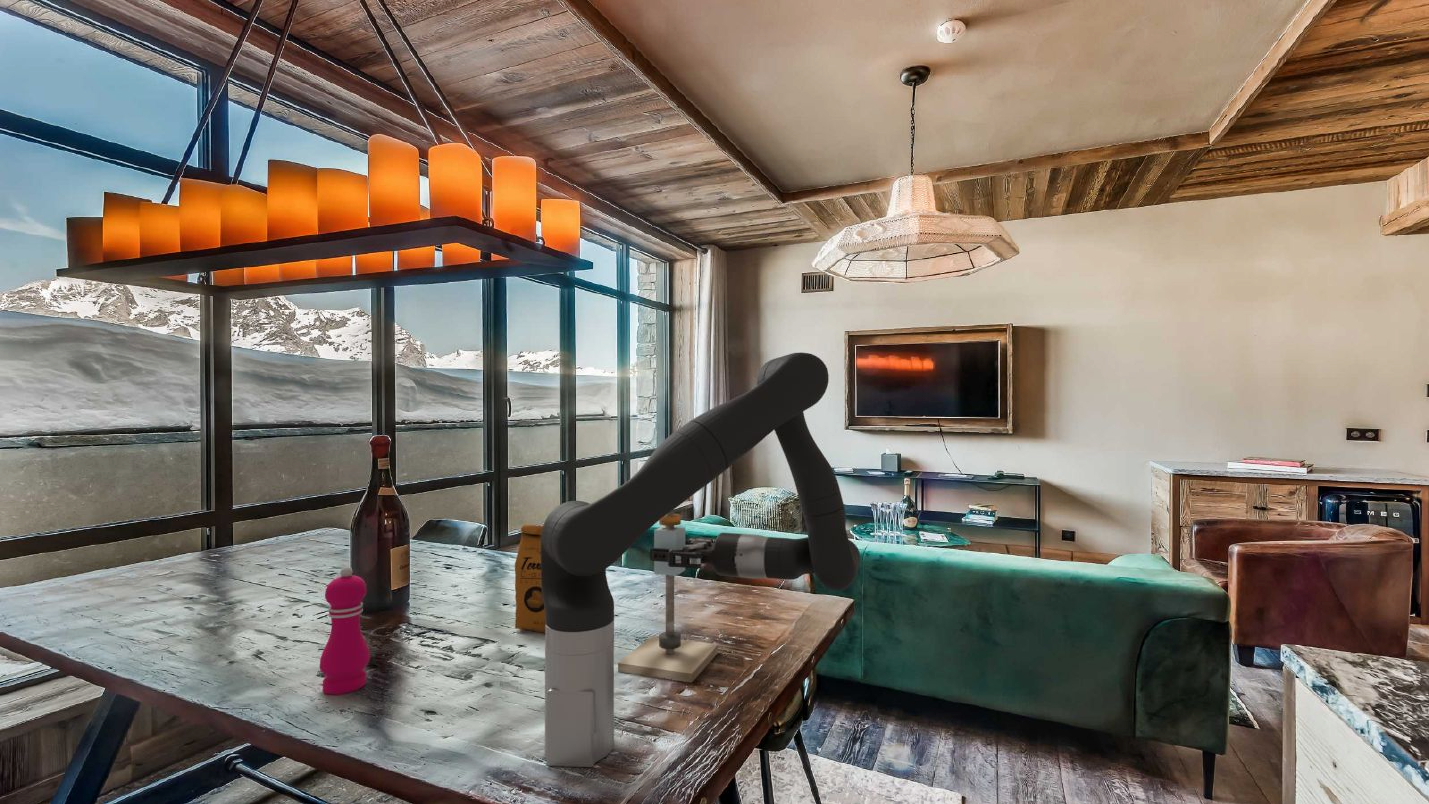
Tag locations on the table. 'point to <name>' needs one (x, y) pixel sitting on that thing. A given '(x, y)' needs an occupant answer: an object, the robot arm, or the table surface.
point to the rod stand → (669, 642)
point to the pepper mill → (345, 636)
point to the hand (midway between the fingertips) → (660, 549)
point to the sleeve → (668, 541)
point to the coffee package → (529, 581)
